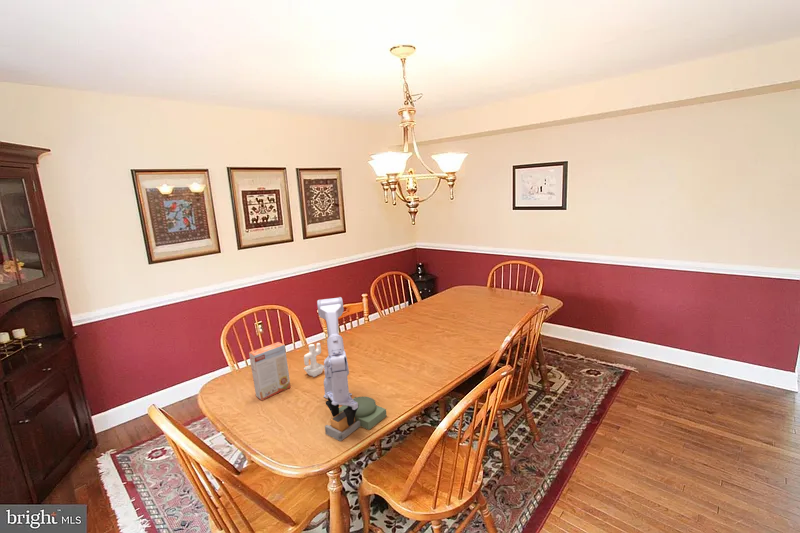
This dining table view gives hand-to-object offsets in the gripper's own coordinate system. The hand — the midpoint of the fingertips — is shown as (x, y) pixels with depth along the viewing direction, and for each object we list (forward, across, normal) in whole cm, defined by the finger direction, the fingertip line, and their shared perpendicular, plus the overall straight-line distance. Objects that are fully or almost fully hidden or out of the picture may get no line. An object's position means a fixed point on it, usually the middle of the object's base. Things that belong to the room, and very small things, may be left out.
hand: (343, 420), depth 139 cm
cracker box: (+4, -46, +2) cm, 46 cm away
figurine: (+4, -43, +23) cm, 49 cm away
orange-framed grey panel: (+3, 0, 0) cm, 3 cm away
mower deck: (+3, 0, +5) cm, 6 cm away
